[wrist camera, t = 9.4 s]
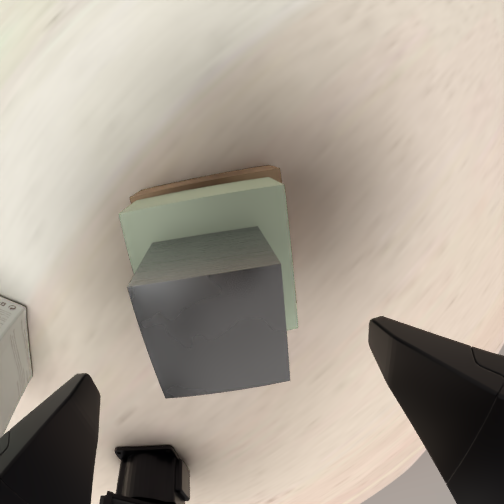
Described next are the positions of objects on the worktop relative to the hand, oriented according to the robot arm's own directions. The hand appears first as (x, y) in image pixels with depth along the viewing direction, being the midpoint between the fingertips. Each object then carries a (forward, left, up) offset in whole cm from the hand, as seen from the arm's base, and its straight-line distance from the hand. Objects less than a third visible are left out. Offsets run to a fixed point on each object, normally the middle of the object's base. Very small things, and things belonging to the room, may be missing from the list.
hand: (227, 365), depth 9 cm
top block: (0, +1, -9) cm, 9 cm away
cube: (0, 0, -5) cm, 5 cm away
